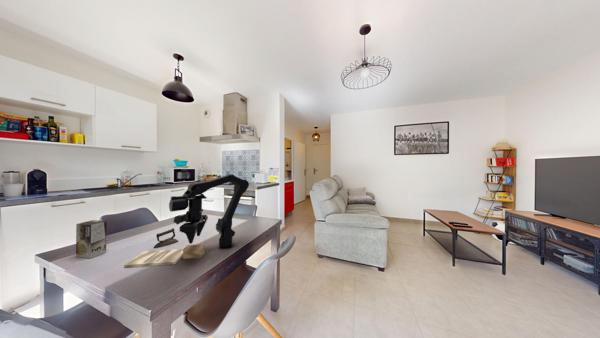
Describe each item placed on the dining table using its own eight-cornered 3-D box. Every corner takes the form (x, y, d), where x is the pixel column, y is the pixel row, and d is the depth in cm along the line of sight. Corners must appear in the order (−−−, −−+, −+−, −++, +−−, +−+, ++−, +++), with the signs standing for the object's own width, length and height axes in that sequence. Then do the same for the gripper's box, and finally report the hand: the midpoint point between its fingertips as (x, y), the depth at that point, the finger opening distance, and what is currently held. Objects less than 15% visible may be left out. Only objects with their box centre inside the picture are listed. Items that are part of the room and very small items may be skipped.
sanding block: (204, 253, 90) (204, 243, 90) (201, 258, 85) (201, 248, 85) (187, 254, 88) (187, 245, 88) (182, 259, 83) (183, 249, 83)
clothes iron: (179, 242, 104) (177, 227, 101) (159, 254, 94) (155, 238, 91) (171, 239, 106) (169, 224, 104) (150, 251, 96) (147, 235, 94)
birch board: (187, 250, 92) (187, 248, 92) (175, 264, 79) (175, 261, 79) (144, 253, 88) (144, 251, 88) (123, 267, 76) (123, 265, 76)
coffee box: (107, 252, 89) (107, 220, 89) (90, 258, 83) (90, 224, 83) (92, 250, 90) (93, 219, 90) (74, 257, 84) (75, 223, 84)
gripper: (186, 204, 95) (185, 233, 95) (166, 213, 76) (165, 249, 76) (208, 204, 97) (207, 232, 97) (194, 212, 78) (193, 247, 78)
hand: (194, 239), depth 87 cm, fingers open, 9 cm apart
